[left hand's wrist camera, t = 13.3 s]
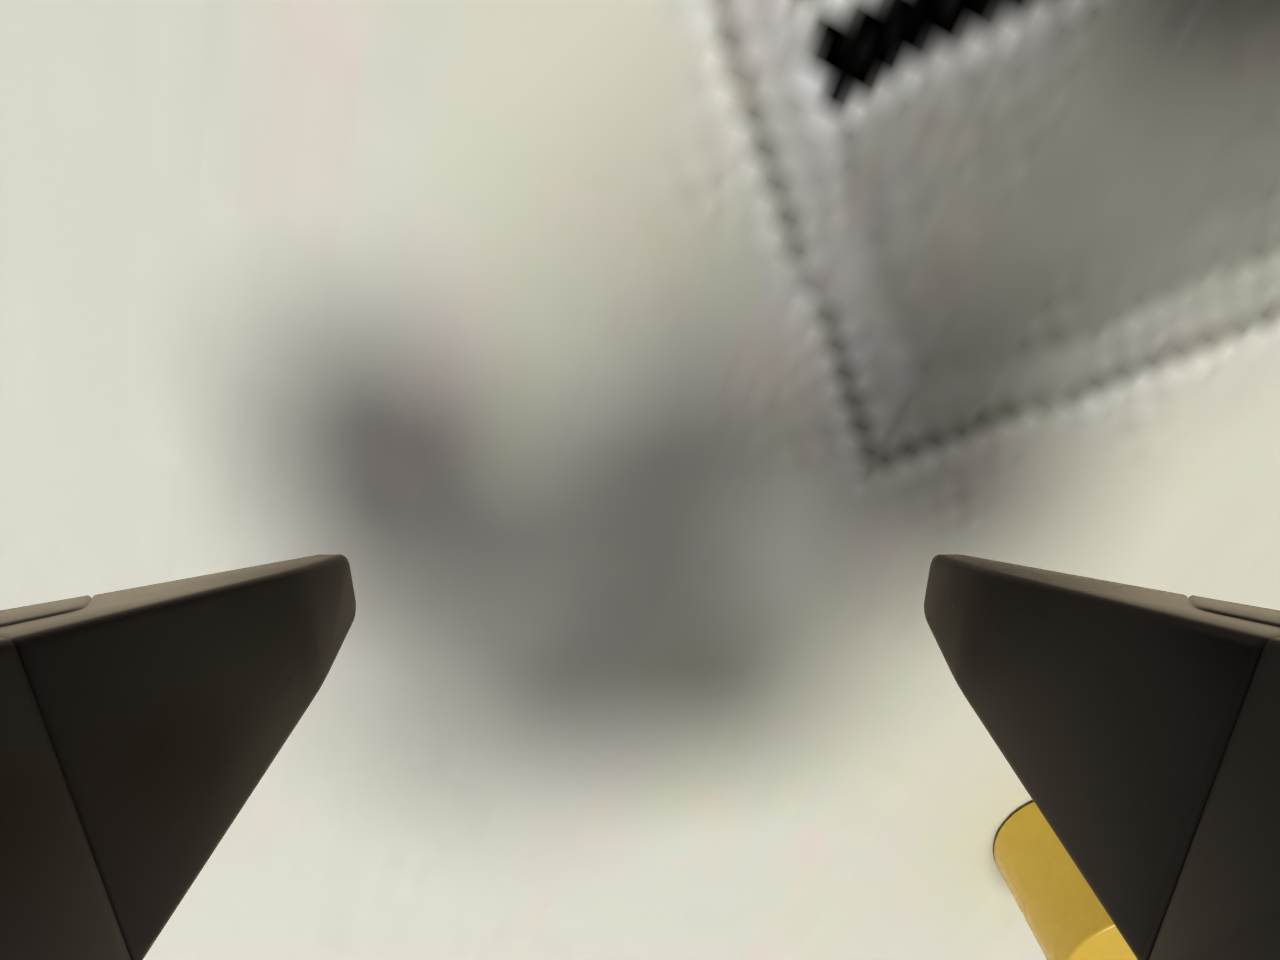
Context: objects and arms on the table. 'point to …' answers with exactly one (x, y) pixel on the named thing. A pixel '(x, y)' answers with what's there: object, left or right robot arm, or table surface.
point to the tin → (1054, 892)
